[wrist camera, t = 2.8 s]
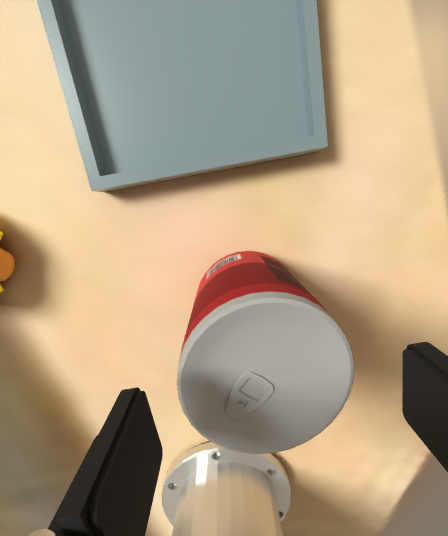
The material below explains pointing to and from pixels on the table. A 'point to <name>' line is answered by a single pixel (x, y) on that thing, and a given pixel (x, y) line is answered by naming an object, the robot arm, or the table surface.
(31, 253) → the table surface
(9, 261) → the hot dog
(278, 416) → the canned food
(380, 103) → the table surface
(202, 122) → the tray
